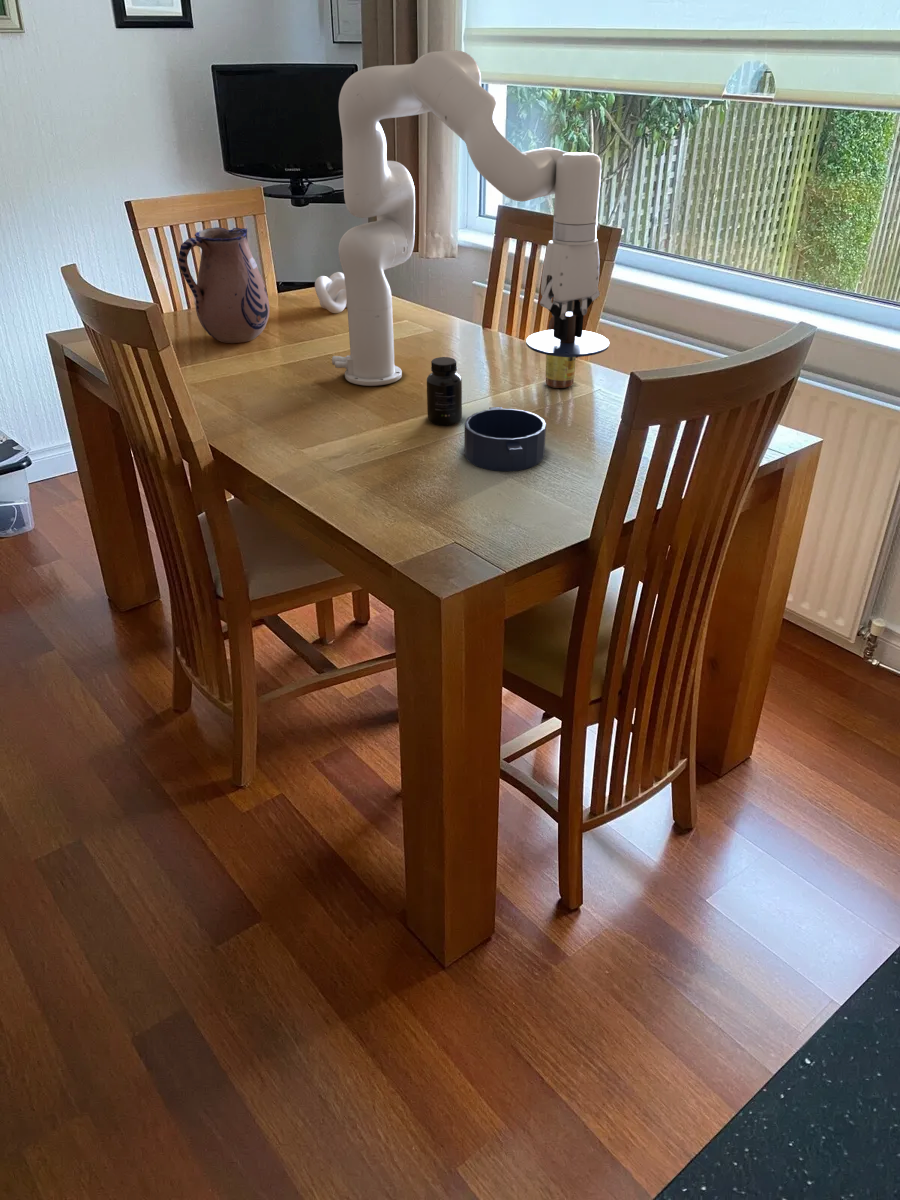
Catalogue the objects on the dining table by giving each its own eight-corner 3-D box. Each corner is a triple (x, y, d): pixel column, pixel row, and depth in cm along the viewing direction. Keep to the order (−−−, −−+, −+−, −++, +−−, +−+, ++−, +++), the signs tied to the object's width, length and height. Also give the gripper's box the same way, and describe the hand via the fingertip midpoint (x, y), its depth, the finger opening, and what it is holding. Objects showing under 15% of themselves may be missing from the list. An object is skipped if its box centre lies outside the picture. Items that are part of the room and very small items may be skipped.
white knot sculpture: (339, 318, 236) (336, 283, 231) (304, 311, 241) (301, 277, 236) (365, 308, 244) (363, 274, 239) (331, 302, 249) (328, 268, 244)
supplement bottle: (426, 414, 180) (425, 355, 173) (460, 412, 180) (460, 354, 173) (428, 427, 174) (427, 367, 167) (463, 426, 174) (463, 365, 168)
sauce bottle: (572, 390, 190) (579, 295, 179) (543, 388, 191) (548, 293, 180) (575, 380, 196) (582, 286, 185) (546, 378, 197) (551, 285, 186)
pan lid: (535, 362, 160) (537, 328, 156) (518, 336, 172) (519, 304, 169) (619, 358, 161) (622, 324, 158) (596, 333, 174) (598, 301, 171)
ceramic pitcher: (287, 334, 224) (276, 228, 210) (227, 358, 209) (211, 245, 195) (236, 324, 232) (222, 221, 218) (175, 345, 217) (155, 236, 203)
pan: (473, 480, 154) (474, 448, 151) (457, 435, 170) (457, 405, 167) (555, 475, 156) (557, 443, 152) (531, 431, 172) (533, 401, 169)
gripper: (596, 223, 162) (588, 325, 172) (524, 234, 155) (520, 339, 165) (624, 230, 157) (614, 335, 167) (550, 241, 149) (545, 350, 160)
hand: (567, 336), depth 166 cm, fingers closed on pan lid, 2 cm apart
